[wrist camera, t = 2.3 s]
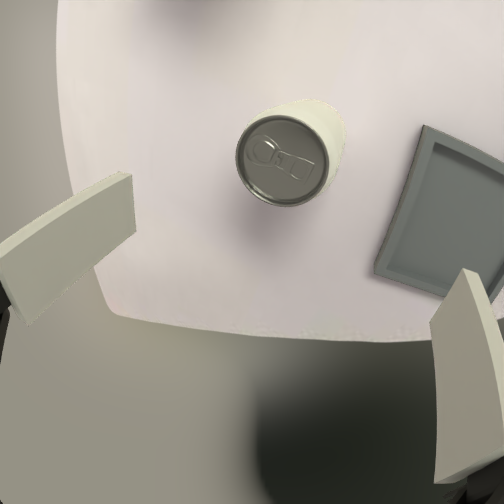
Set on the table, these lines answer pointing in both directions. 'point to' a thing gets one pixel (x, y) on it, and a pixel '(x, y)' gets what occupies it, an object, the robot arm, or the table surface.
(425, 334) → the table surface
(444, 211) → the tray
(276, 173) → the can
